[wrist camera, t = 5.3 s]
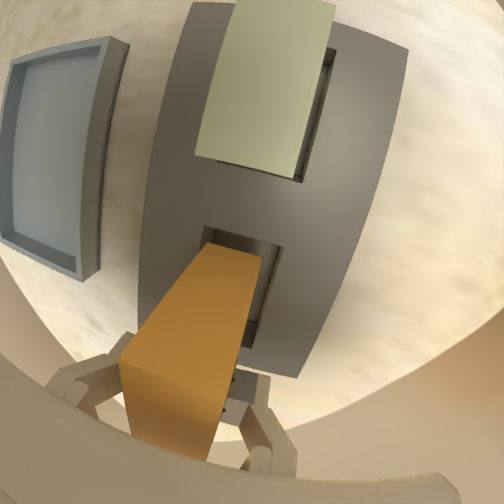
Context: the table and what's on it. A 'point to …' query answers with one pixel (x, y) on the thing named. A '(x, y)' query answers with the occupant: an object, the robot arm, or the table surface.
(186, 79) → the block
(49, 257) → the parts tray
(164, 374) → the block
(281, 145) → the block
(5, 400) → the robot arm
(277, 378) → the table surface
